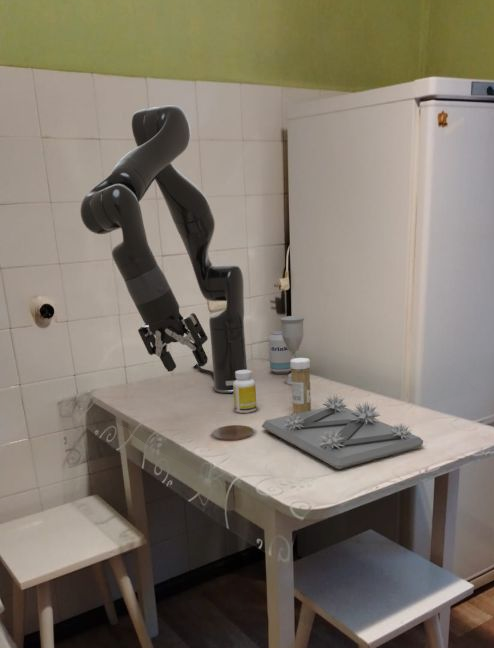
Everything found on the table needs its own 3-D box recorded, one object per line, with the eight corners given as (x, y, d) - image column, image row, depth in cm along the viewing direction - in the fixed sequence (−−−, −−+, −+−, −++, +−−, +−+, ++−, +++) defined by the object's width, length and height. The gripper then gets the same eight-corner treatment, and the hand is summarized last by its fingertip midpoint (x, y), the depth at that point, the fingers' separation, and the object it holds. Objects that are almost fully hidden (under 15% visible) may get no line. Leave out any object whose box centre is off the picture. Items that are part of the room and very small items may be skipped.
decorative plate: (260, 431, 143) (258, 400, 140) (339, 413, 152) (339, 384, 150) (336, 473, 118) (336, 436, 115) (426, 449, 127) (427, 414, 125)
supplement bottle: (261, 409, 158) (259, 370, 155) (245, 414, 155) (243, 375, 151) (245, 405, 162) (243, 367, 158) (230, 411, 158) (227, 372, 155)
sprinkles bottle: (315, 415, 152) (313, 359, 147) (299, 419, 149) (297, 362, 145) (303, 411, 155) (302, 356, 151) (288, 414, 153) (286, 359, 148)
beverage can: (268, 374, 191) (266, 334, 187) (272, 369, 197) (270, 330, 193) (291, 374, 190) (290, 334, 186) (294, 369, 196) (293, 329, 192)
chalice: (307, 384, 178) (305, 319, 172) (282, 385, 178) (279, 320, 172) (306, 378, 185) (304, 315, 179) (282, 379, 185) (279, 316, 179)
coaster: (207, 431, 144) (207, 429, 144) (244, 424, 147) (244, 422, 147) (220, 443, 136) (220, 441, 136) (259, 435, 140) (259, 433, 140)
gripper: (189, 278, 121) (224, 353, 128) (137, 292, 129) (172, 362, 137) (168, 295, 116) (205, 372, 123) (114, 308, 124) (152, 380, 131)
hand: (187, 367), depth 130 cm, fingers open, 8 cm apart
